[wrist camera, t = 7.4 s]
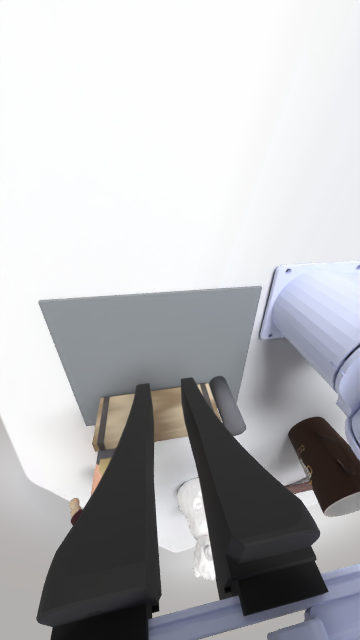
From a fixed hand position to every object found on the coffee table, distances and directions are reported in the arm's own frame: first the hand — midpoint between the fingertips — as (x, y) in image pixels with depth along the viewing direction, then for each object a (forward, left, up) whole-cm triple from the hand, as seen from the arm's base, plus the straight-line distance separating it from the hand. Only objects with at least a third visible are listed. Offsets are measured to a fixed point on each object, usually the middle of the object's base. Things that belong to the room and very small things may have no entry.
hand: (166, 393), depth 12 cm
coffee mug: (-24, +23, -10) cm, 35 cm away
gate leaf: (0, +11, -9) cm, 14 cm away
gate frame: (0, +7, -9) cm, 12 cm away
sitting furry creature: (-6, +38, -10) cm, 40 cm away
